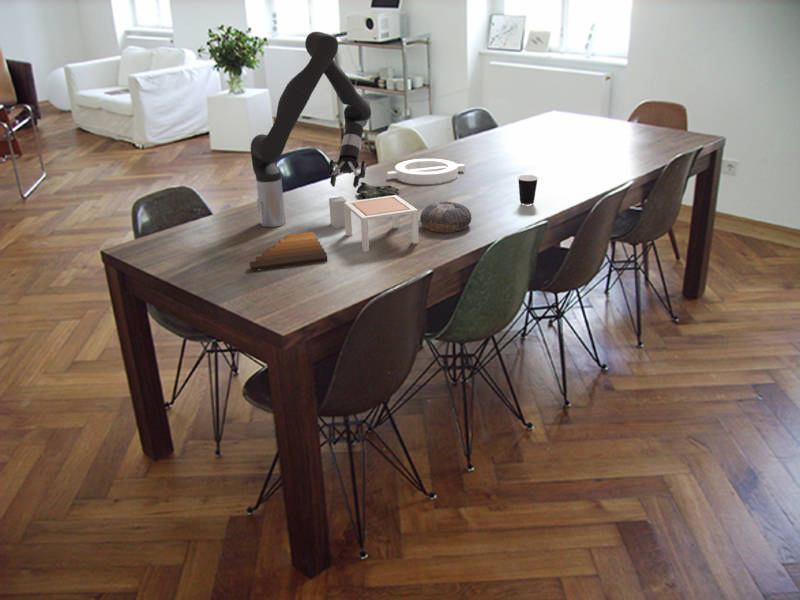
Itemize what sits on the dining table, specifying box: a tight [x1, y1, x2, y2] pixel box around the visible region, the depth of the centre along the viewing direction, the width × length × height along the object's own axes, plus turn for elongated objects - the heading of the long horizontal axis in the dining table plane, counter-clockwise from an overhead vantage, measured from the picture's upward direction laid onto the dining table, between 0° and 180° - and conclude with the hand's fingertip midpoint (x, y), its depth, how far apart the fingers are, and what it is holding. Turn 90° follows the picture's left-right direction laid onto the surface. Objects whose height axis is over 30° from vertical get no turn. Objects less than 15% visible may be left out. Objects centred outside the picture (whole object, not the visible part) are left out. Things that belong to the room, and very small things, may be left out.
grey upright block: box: [328, 196, 347, 229], centre depth 288 cm, size 5×5×10 cm
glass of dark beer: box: [517, 174, 539, 205], centre depth 305 cm, size 8×8×11 cm
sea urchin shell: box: [419, 200, 472, 234], centre depth 284 cm, size 19×19×10 cm
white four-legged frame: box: [344, 194, 419, 253], centre depth 272 cm, size 20×20×12 cm
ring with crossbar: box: [386, 158, 466, 185], centre depth 349 cm, size 28×28×5 cm
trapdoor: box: [353, 198, 408, 216], centre depth 270 cm, size 15×15×1 cm
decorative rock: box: [355, 181, 400, 199], centre depth 325 cm, size 19×6×15 cm
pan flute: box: [249, 231, 328, 271], centre depth 263 cm, size 25×3×25 cm
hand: (343, 186), depth 292 cm, fingers open, 8 cm apart
